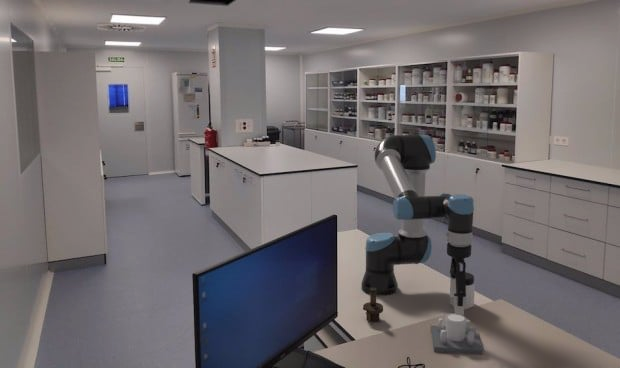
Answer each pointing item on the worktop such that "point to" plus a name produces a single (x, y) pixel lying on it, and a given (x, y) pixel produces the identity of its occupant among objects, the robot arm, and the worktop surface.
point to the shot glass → (455, 326)
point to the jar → (467, 292)
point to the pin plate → (446, 345)
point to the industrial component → (373, 307)
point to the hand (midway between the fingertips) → (456, 305)
